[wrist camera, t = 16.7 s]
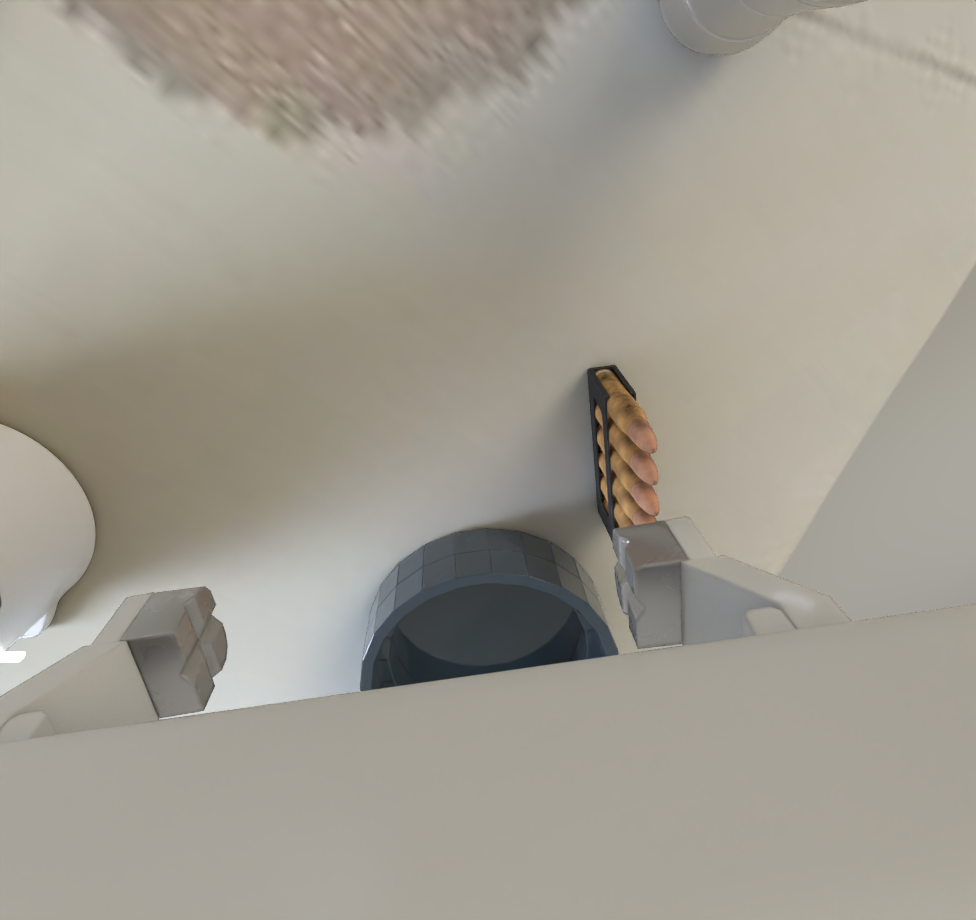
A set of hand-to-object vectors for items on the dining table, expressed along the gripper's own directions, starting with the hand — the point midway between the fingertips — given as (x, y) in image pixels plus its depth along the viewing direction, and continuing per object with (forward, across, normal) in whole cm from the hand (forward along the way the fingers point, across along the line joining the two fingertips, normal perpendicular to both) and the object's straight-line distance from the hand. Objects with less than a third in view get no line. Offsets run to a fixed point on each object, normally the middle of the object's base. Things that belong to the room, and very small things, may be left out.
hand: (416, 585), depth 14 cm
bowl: (+31, 0, +25) cm, 40 cm away
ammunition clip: (+31, -10, +11) cm, 35 cm away
